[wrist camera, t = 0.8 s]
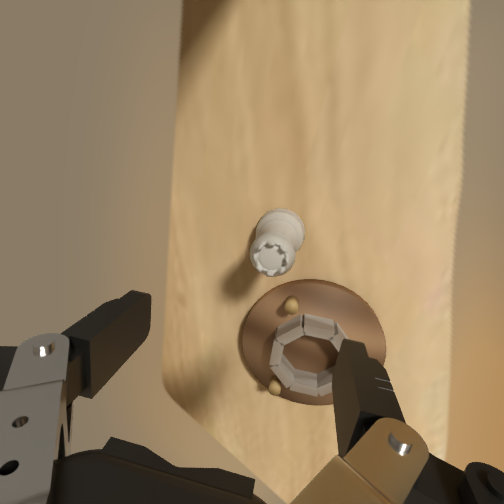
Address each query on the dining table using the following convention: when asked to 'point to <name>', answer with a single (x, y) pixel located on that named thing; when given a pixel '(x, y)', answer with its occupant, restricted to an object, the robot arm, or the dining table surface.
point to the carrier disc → (307, 337)
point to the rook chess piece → (276, 242)
